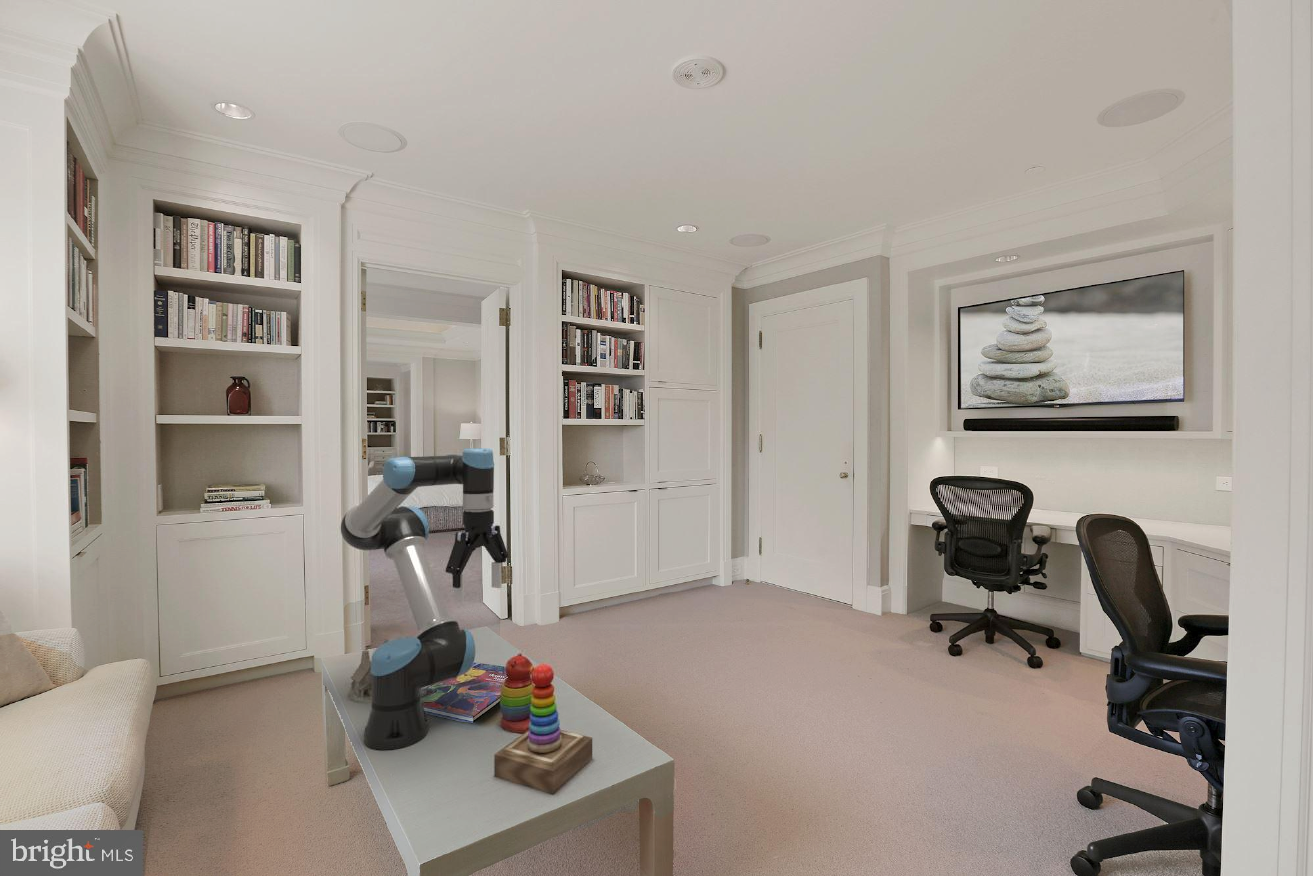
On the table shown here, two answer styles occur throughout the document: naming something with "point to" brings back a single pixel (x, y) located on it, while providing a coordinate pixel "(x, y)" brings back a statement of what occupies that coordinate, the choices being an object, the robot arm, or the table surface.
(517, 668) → the stacking bear
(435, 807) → the table surface
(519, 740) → the plinth
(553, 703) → the stacking toy
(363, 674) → the ceramic cottage
